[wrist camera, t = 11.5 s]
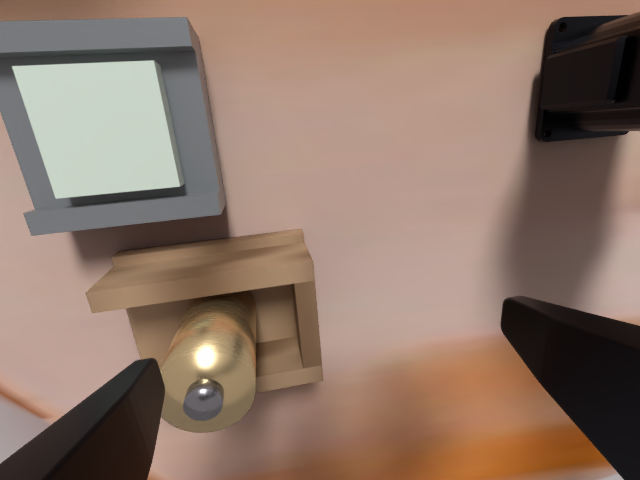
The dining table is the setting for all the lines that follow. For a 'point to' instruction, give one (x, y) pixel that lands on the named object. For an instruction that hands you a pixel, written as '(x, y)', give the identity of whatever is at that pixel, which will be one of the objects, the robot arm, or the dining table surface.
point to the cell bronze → (211, 363)
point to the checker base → (184, 103)
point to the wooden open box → (220, 278)
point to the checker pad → (101, 126)
